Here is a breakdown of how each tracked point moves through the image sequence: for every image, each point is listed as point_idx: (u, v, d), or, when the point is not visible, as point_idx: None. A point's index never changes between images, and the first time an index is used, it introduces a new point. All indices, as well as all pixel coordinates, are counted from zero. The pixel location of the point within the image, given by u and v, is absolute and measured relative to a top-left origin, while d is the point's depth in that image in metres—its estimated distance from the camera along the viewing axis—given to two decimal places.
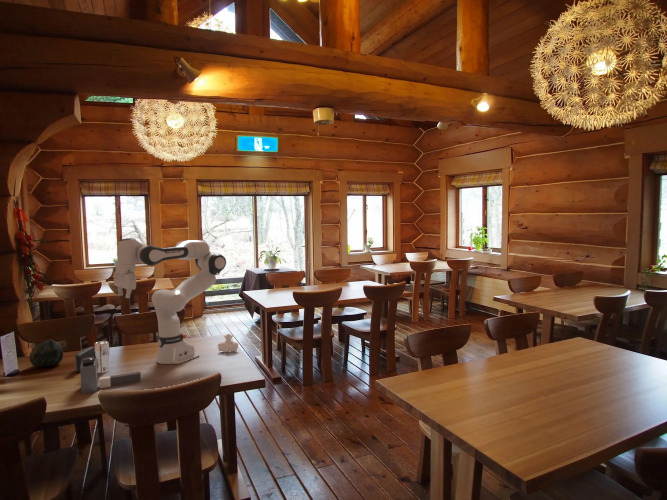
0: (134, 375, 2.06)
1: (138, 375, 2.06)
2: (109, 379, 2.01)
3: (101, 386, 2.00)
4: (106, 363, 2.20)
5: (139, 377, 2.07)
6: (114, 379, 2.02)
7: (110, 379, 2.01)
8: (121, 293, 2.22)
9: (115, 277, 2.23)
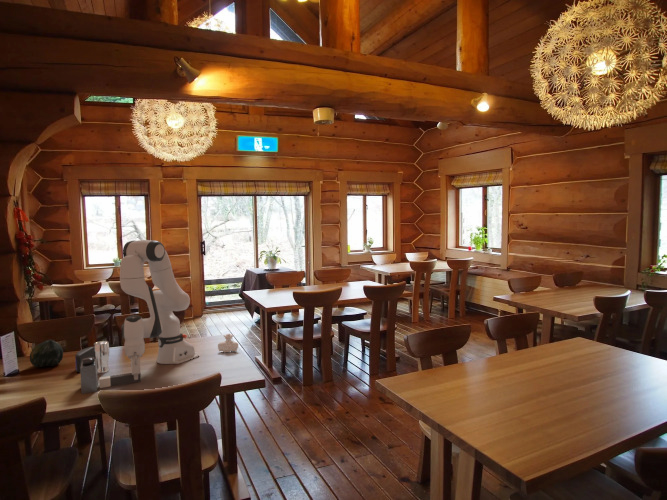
0: None
1: (138, 375, 2.06)
2: (109, 379, 2.01)
3: (101, 386, 2.00)
4: (106, 363, 2.20)
5: (139, 377, 2.07)
6: (114, 379, 2.02)
7: (110, 379, 2.01)
8: None
9: None
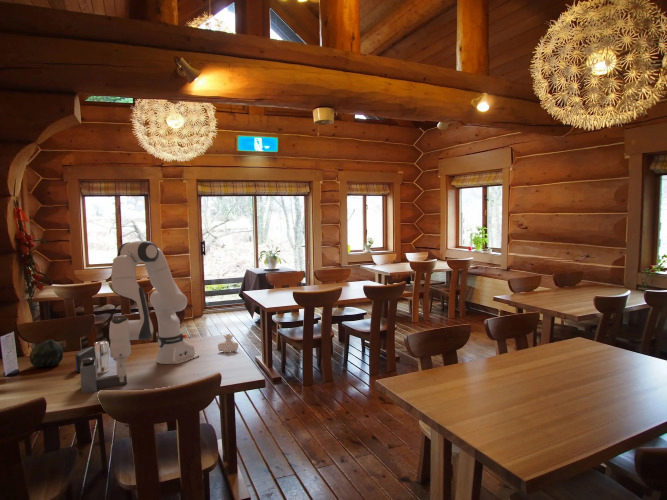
0: None
1: (124, 377, 2.04)
2: None
3: None
4: (106, 363, 2.20)
5: (125, 379, 2.04)
6: (99, 381, 1.99)
7: None
8: None
9: None
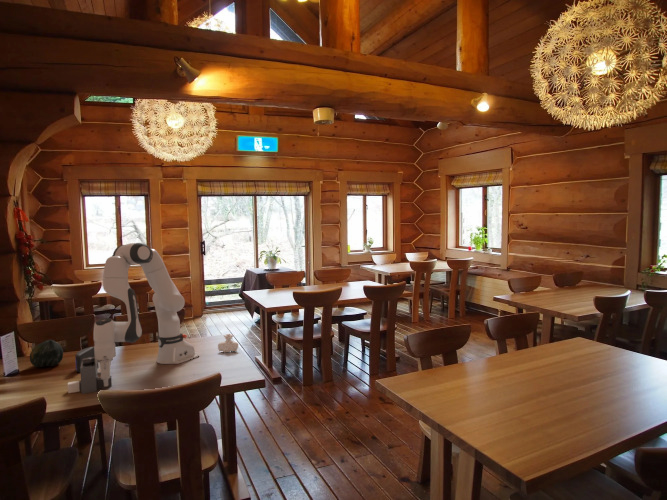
0: None
1: (109, 380, 2.01)
2: (78, 384, 1.95)
3: (69, 391, 1.94)
4: None
5: (110, 382, 2.01)
6: None
7: (79, 384, 1.96)
8: None
9: None
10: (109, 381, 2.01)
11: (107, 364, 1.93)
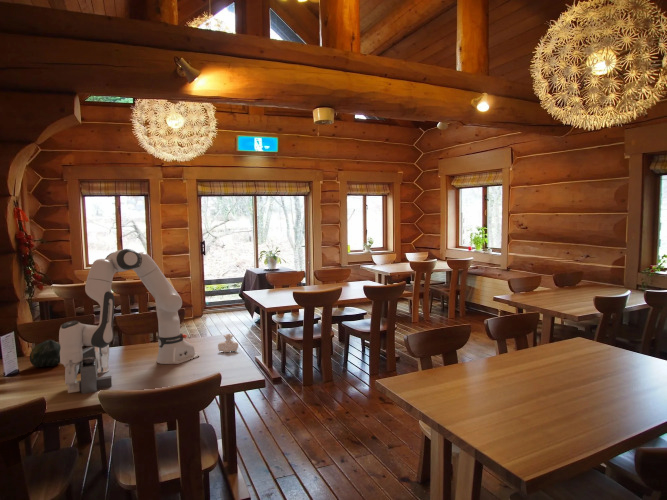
0: (104, 380, 2.00)
1: (108, 380, 2.01)
2: (78, 384, 1.95)
3: (69, 391, 1.94)
4: (106, 363, 2.20)
5: (110, 382, 2.01)
6: None
7: (79, 384, 1.96)
8: None
9: None
10: (109, 381, 2.01)
11: (72, 368, 1.87)
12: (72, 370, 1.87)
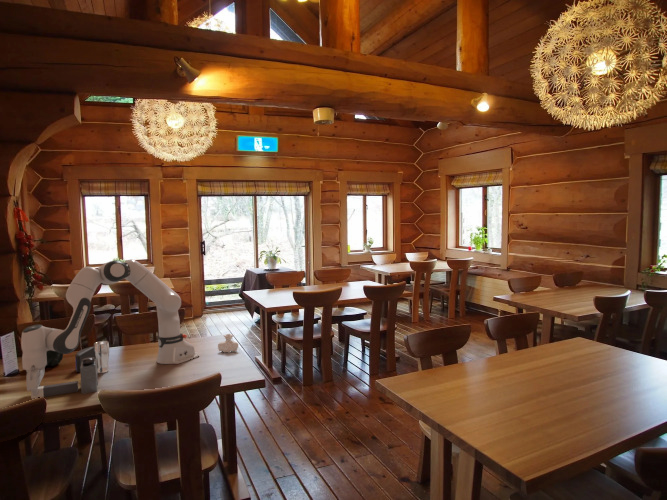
0: (70, 385, 1.94)
1: (74, 385, 1.95)
2: (42, 389, 1.89)
3: (33, 397, 1.88)
4: (106, 363, 2.20)
5: (76, 387, 1.95)
6: (47, 389, 1.90)
7: (43, 389, 1.90)
8: None
9: None
10: (75, 386, 1.95)
11: (34, 374, 1.81)
12: (34, 376, 1.81)
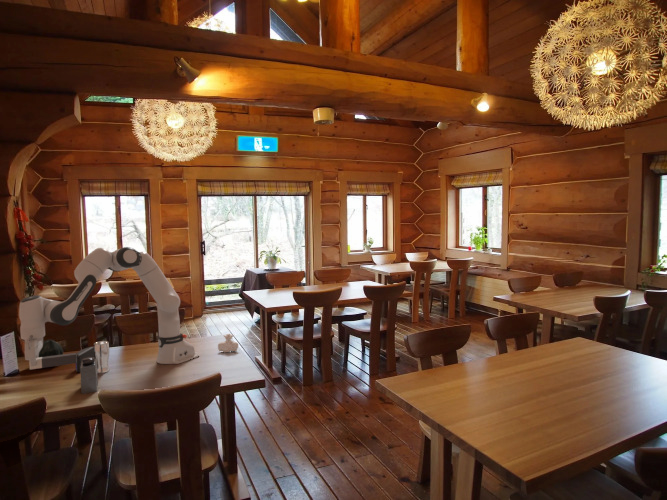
0: (68, 356, 1.93)
1: (73, 356, 1.94)
2: (40, 360, 1.88)
3: (31, 367, 1.87)
4: (106, 363, 2.20)
5: (74, 358, 1.94)
6: (46, 360, 1.89)
7: (41, 360, 1.89)
8: None
9: None
10: (74, 358, 1.94)
11: (32, 344, 1.80)
12: (32, 345, 1.80)
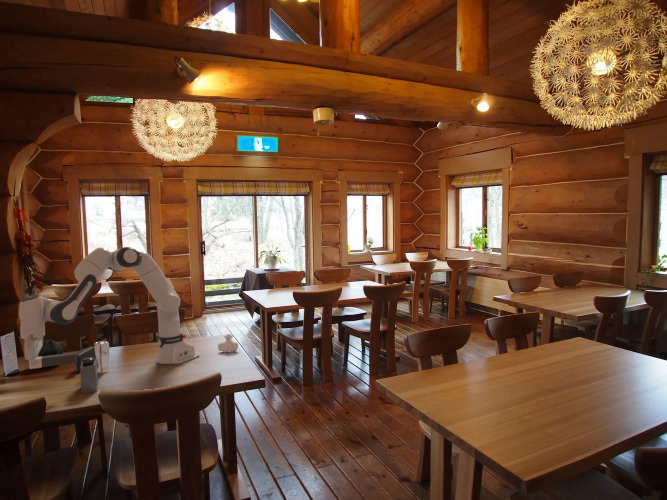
0: (68, 356, 1.93)
1: (73, 356, 1.94)
2: (40, 359, 1.88)
3: (31, 367, 1.87)
4: (106, 363, 2.20)
5: (74, 358, 1.94)
6: (46, 360, 1.89)
7: (41, 360, 1.89)
8: None
9: None
10: (73, 357, 1.94)
11: (32, 343, 1.80)
12: (32, 345, 1.80)
